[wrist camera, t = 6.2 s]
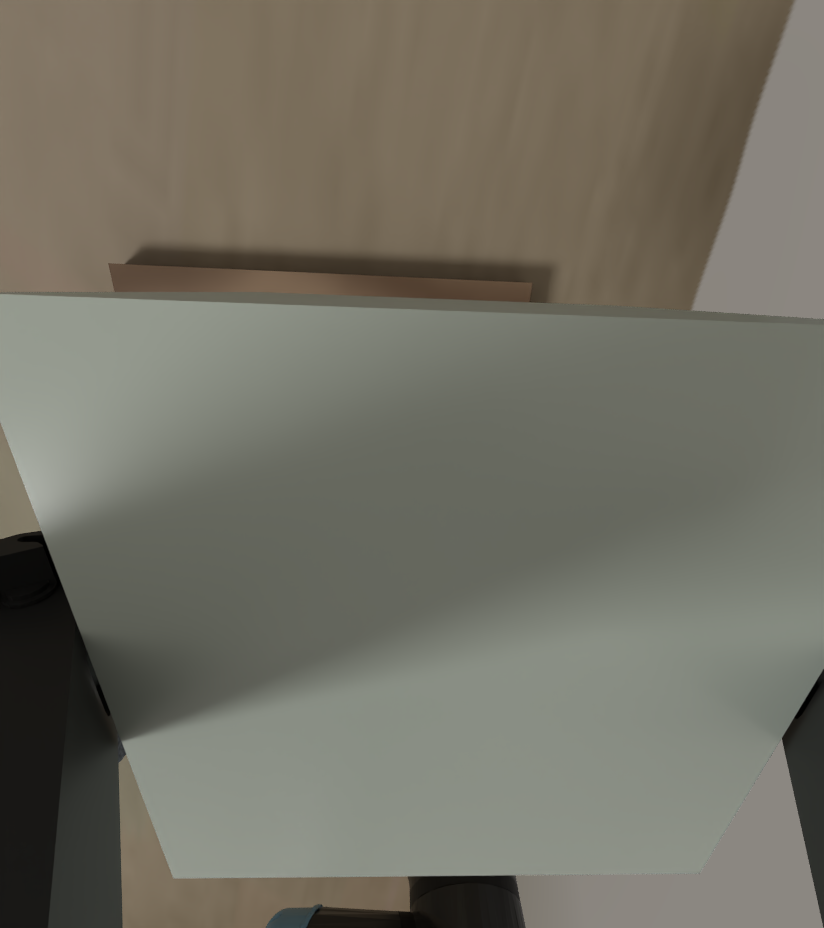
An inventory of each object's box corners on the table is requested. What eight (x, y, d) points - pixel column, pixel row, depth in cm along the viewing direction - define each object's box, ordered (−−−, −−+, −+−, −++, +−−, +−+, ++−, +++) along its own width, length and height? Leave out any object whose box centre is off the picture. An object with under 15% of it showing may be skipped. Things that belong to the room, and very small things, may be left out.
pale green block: (554, 588, 17) (699, 873, 9) (288, 584, 16) (173, 878, 8) (615, 305, 13) (1028, 332, 4) (258, 291, 12) (-48, 292, 4)
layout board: (501, 458, 33) (506, 466, 31) (163, 447, 32) (150, 456, 30) (526, 283, 28) (533, 282, 26) (123, 264, 27) (106, 263, 25)
